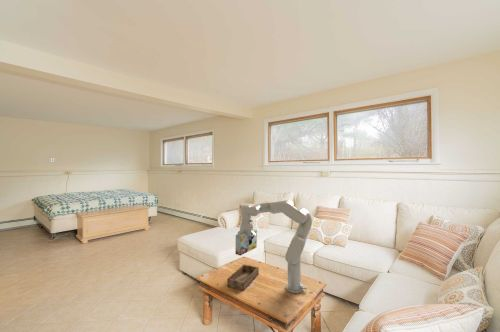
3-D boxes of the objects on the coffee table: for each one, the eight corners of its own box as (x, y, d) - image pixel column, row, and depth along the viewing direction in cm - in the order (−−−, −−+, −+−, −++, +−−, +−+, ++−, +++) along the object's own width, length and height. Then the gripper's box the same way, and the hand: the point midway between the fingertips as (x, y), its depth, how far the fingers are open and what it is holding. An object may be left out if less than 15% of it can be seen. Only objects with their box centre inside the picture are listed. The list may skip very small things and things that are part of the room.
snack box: (240, 256, 174) (240, 236, 174) (235, 254, 178) (234, 234, 177) (257, 247, 191) (257, 229, 191) (251, 246, 195) (251, 228, 194)
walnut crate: (258, 274, 196) (258, 267, 195) (243, 290, 171) (243, 282, 171) (243, 271, 202) (243, 264, 201) (227, 286, 177) (227, 279, 177)
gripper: (258, 221, 183) (258, 243, 184) (238, 218, 191) (239, 240, 191) (254, 223, 177) (254, 246, 177) (234, 221, 184) (234, 243, 185)
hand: (246, 243), depth 184 cm, fingers closed on snack box, 6 cm apart
